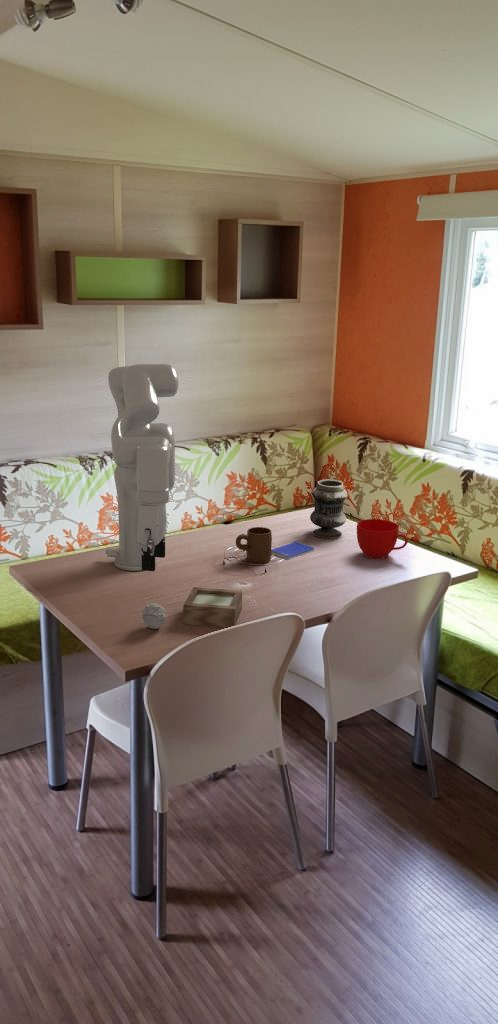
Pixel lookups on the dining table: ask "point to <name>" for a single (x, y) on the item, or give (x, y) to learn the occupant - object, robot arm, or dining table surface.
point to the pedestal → (212, 607)
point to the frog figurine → (154, 615)
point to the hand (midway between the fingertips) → (153, 563)
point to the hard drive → (292, 550)
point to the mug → (256, 544)
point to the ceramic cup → (378, 537)
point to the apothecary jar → (328, 508)
